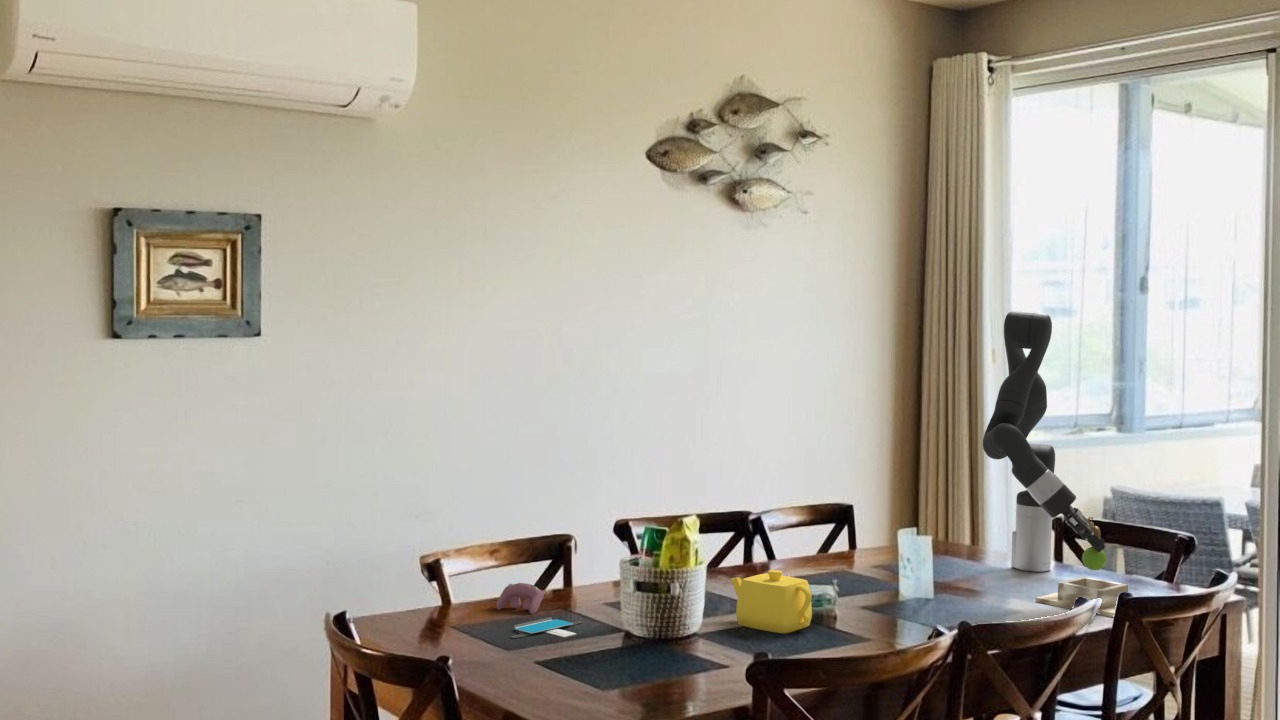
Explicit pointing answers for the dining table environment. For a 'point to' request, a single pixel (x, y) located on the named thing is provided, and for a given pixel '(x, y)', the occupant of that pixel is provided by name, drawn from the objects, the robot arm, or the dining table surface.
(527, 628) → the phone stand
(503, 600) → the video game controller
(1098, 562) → the snail figurine
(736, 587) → the teapot
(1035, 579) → the dining table surface
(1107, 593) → the wooden box tray
